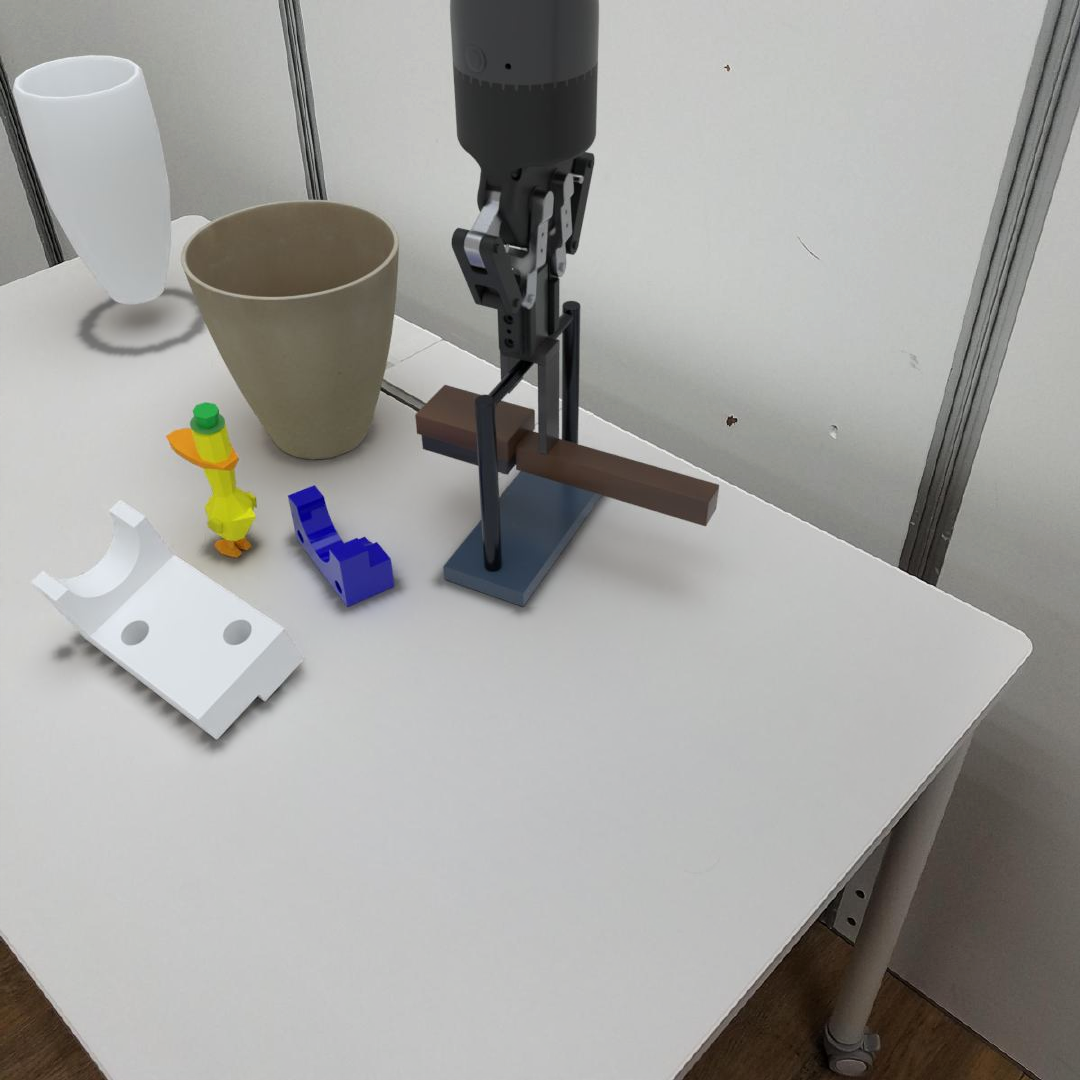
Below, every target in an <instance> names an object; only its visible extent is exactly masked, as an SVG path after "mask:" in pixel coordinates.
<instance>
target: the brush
mask: <svg viewBox="0 0 1080 1080" xmlns="http://www.w3.org/2000/svg"><path fill="white" fill-rule="evenodd" d="M512 270H513V273H514V276H515V279H516V282H517V284H518V285H520V280H521V274H520V272H519V271H518V270H517V269H513V268H512ZM534 303H536V353H535V354H534V355H533V356H532V357H531V359H530V360H528V362H532V363H534V364H536V365H537V428H538V429H537V431H535V430H536V410H535V409H534V408H530V407H527V406H523V405H518V404H515V403H512V402H508V401H505V400H501V401H500V402H499V403H498V405H497V406H496V407H495V412H496V435H497V459H498V473H500V474H502V475H503V474H504V475H509V474H510V473H511V471H512V470H513V469H514V468H515V470H516V471H519V472H520V471H523V472H526V473H530V474H533V475H536V476H540V477H543V478H546V479H550V480H553V481H556V482H560V483H563V484H566V485H570V486H573V487H576V488H579V489H583V490H586V491H589V492H593V493H596V494H599V495H602V497H607V498H610V499H613V500H615V501H619V502H623V503H626V504H629V505H633V506H636V507H639V508H643V509H647V510H649V511H652V512H656V513H659V514H663V515H665V516H669V517H671V518H676V519H680V520H682V521H685V522H689V523H692V524H695V525H699V526H703V527H707V526H708V523H709V522H710V520H711V519H712V517H713V515H714V513H715V511H716V510H717V505H718V499H719V490H720V484H719V483H715V482H711V481H708V480H704V479H701V478H698V477H694V476H690V475H687V474H684V473H681V472H676V471H673V470H669V469H665V468H663V467H659V466H655V465H652V464H648V463H645V462H641V461H638V460H634V459H631V458H627V457H624V456H620V455H617V454H614V453H610V452H606V451H603V450H599V449H597V448H593V447H589V446H587V445H583V444H579V443H578V444H576V443H572V442H569V441H565V440H562V438H560V346H561V345H560V339H558V338H557V339H554V338H550V337H548V265H547V264H546V263H545V264H544V265H543V266H542V267H540V268H539V269H537V283H536V298H535V302H534ZM519 361H520V359H516V358H513V357H509V356H505V355H503V354H502V353H501V352H500V351H499V363H500V366H499V367H500V381H501V380H502V379H503V378H504V377H505V376H506V375H507V374H508V373H509V371H510V370H511V369H512V368H513V367H514V366H515V365H516V364H517V363H518V362H519ZM523 379H524V376H523V377H522V378H521V379H520V380H519V381H518V382H517V383H516V384H515V386H514V387H513V388H512V389H511V390H510V391H509V392H508V393H507V395H508V394H511V393H512V391H514V389H515V388H516V387H517V386H518V385H519V384H520V383H521V381H523ZM480 395H481V394H479V393H476V392H473V391H469V390H467V389H462V388H458V387H455V386H451V385H447V384H444V385H443V386H442V387H441V388H440V389H439V390H438V391H437V392H436V393H435V394H434V395H433V396H432V397H431V398H430V399H429V400H428V401H427V402H426V403H425V404H424V405H423V406H421V408H420V409H419V410H418V411H417V412H416V413H415V415H414V417H415V426H416V434H417V435H420V436H421V445H422V450H425V451H427V452H431V453H434V454H438V455H441V456H445V457H447V458H451V459H453V460H457V461H461V462H464V463H468V464H470V465H473V466H476V467H478V452H477V435H476V418H475V399H476V397H478V396H480Z"/></svg>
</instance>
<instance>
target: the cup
mask: <svg viewBox="0 0 1080 1080" xmlns="http://www.w3.org/2000/svg"><path fill="white" fill-rule="evenodd" d="M12 94H13V98H14V100H15V105H16V107H17V111H18V115H19V118H20V122H21V126H22V130H23V133H24V136H25V140H26V143H27V148H28V150H29V153H30V157H31V159H32V162H33V165H34V167H35V171H36V172H37V176H38V178H39V180H40V183H41V186H42V188H43V191H44V193H45V196H46V199H47V201H48V205H49V207H50V209H51V211H52V213H53V214H54V216H55V218H56V220H57V221H58V223H59V225H60V226H61V229H62V230H63V232H64V234H65V236H66V237H67V239H68V241H69V243H70V244H71V246H72V248H73V250H74V252H75V253H76V255H77V256H78V257H79V259H80V260H81V262H82V264H84V266H85V267H86V269H87V270H88V271H89V272H90V274H91V275H92V277H93V278H94V280H95V281H96V282H97V283H98V284H99V285H100V287H102V289H103V291H105V292H106V293H107V294H108V295H109V297H111V299H112V300H113V301H114V302H116V303H119V304H121V305H138V304H144V303H147V302H150V301H153V300H155V299H156V298H158V297H159V296H161V295H162V293H163V292H164V291H165V289H166V283H167V280H168V279H167V278H168V274H169V267H170V258H171V246H172V221H171V219H172V218H171V217H172V216H171V194H170V193H171V190H170V181H169V176H168V171H167V164H166V161H165V154H164V150H163V145H162V139H161V135H160V129H159V125H158V122H157V118H156V115H155V111H154V108H153V104H152V99H151V97H150V93H149V90H148V87H147V82H146V79H145V76H144V72H143V69H142V68H141V67H140V65H138V64H137V63H135V62H134V61H132V60H130V59H129V58H123V57H119V56H114V55H98V54H97V55H95V54H90V55H79V56H68V57H64V58H58V59H55V60H51V61H46V62H42V63H40V64H38V65H36V66H33V67H31V68H28V69H26V70H25V71H23V72H22V73H20V74H19V75H18V76H16V77H15V79H14V81H13V87H12Z"/></svg>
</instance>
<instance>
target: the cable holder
mask: <svg viewBox="0 0 1080 1080" xmlns="http://www.w3.org/2000/svg"><path fill="white" fill-rule="evenodd" d="M287 499H288V504H289V510H290V513H291V519H292V523H293V528H294V533H295V537H296V541H297V542H298V544H299V545H300V546H301V547H302V549H303V550H304V552H306V554H307V555H308V556H309V558H310V560H311V561H312V562H313V563H314V565H315V566H316V567H317V569H318V570H319V571H320V573H321V574H322V575H323V576H324V578H325V580H327V582H328V583H329V585H330V586H331V587H332V589H333V590H334V591H335V593H336V594H337V595H338V597H339V598H340V600H341V601H342V602H343V604H344V605H345V607H347V608H348V607H350V606H352V605H355V604H357V603H360V602H362V601H365V600H366V599H368V598H371V597H373V596H375V595H378V594H380V593H382V592H384V591H387V590H390V589H391V588H394V587H395V580H394V579H395V578H394V572H393V565H392V564H393V563H392V558H391V557H390V556H389V555H388V553H387V552H386V551H385V549H383V547H382V546H381V545H380V544H379V542H378V541H375V542H372V541H371V540H370V539H368V538H367V537H366V536H362V537H359V538H358V537H356V538H353V539H350V540H348V541H346V542H344V541H343V539H342V538H341V536H340V535H339V533H338V531H337V529H336V527H335V524H334V523H333V520H332V518H331V516H330V513H329V509H328V507H327V504H326V498H325V496H324V495H323V493H322V492H321V491H320V489H318V487H317V486H316V485H315V484H313V485H311V486H308V487H306V488H303V489H301V490H297V491H295V492H293V493H289V494H287Z"/></svg>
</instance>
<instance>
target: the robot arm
mask: <svg viewBox="0 0 1080 1080" xmlns="http://www.w3.org/2000/svg"><path fill="white" fill-rule="evenodd" d="M449 21H450V22H449V23H450V38H451V39H450V40H451V56H452V74H453V89H454V91H453V92H454V106H455V124H456V126H455V127H456V137H457V141H458V144H459V145H460V147H461V148H462V149H463V150H464V151H465V152H466V153H467V154H468V155H470V156H471V158H473V160H474V161H475V162H476V163H477V164H478V166H479V169H480V174H479V183H478V190H477V195H476V203H477V204H476V205H477V208H478V210H479V214H478V216H477V218H476V219H475V222H473V225H472V227H471V229H467V228H462V227H457V228H456V229H454V231H453V233H452V236H451V249H452V251H453V253H454V256H455V258H456V260H457V263H458V265H459V268H460V270H461V273H462V275H463V277H464V280H465V282H466V284H467V287H468V290H469V292H470V294H471V297H472V299H473V302H474V304H475V305H478V306H482V307H486V308H490V309H493V310H494V309H495V310H497V332H498V333H497V334H498V335H497V336H498V338H497V339H498V350H499V353H500V352H501V353H502V354H503V355H505V356H509V357H513V358H516V359H520V360H524V361H528V360H530V359H531V357H532V356H533V355H534V354H535V353H536V303H534V302H535V298H536V283H537V269H539V268H540V267H542V266H543V265H544V264H545V263H546V264H547V265H548V335H552V334H553V333H554V332H555V331H556V330H557V329H558V328H559V317H560V278H562V277H563V276H564V274H565V271H566V270H567V255H571V256H574V255H575V254H576V253H577V251H578V249H579V246H580V239H581V234H582V229H583V223H584V218H585V213H586V208H587V202H588V198H589V193H590V189H591V182H592V178H593V177H592V176H593V173H594V172H593V171H594V167H595V160H596V159H595V155H594V153H593V152H588V150H589V149H590V148H591V147H592V146H593V144H594V142H595V140H596V136H597V114H598V113H597V112H598V78H599V77H598V75H599V35H600V0H449ZM513 269H517V270H518V271H519V272H520V274H521V280H520V285H518V284H517V282H516V279H515V276H514V273H513Z"/></svg>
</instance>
